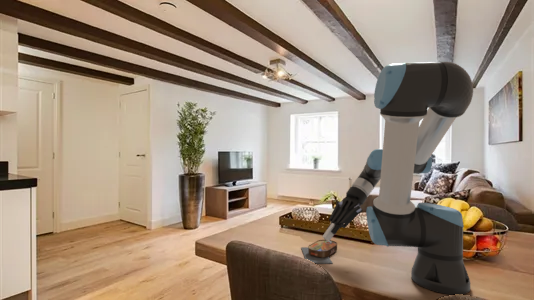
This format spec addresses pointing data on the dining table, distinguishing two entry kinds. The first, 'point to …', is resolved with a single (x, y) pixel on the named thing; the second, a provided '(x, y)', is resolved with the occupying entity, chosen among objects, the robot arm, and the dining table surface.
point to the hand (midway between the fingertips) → (325, 239)
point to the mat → (315, 259)
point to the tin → (322, 248)
